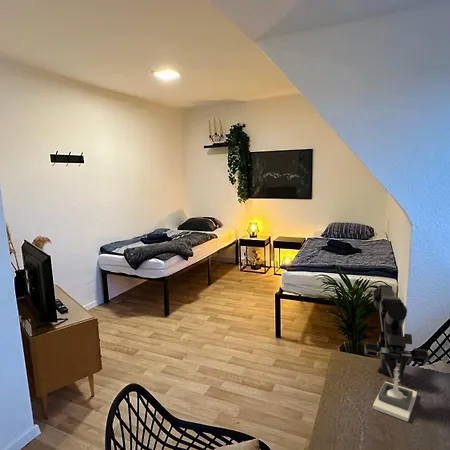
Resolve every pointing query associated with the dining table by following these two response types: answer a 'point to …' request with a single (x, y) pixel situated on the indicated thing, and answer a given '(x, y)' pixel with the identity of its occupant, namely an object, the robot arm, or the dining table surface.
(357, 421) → the dining table surface
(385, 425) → the dining table surface
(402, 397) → the chess piece
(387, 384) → the board
